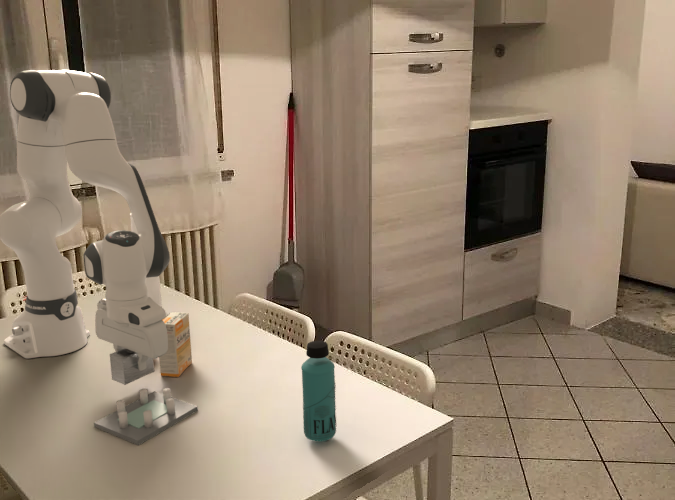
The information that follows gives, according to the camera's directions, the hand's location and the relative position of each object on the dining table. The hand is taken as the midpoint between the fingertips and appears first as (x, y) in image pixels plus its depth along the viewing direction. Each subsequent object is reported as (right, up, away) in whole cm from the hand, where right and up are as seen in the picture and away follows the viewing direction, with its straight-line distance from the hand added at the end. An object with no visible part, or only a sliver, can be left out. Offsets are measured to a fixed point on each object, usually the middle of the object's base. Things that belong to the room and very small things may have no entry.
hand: (132, 365), depth 155 cm
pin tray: (+6, -9, -10) cm, 15 cm away
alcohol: (-10, +7, +48) cm, 50 cm away
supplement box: (+7, -3, +12) cm, 14 cm away
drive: (0, -2, +1) cm, 2 cm away
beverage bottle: (+42, -11, -20) cm, 47 cm away
